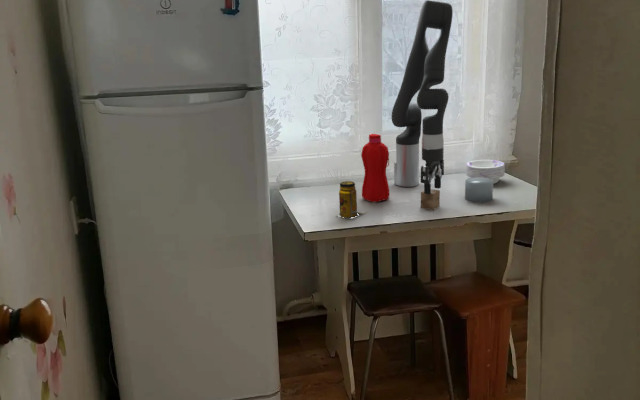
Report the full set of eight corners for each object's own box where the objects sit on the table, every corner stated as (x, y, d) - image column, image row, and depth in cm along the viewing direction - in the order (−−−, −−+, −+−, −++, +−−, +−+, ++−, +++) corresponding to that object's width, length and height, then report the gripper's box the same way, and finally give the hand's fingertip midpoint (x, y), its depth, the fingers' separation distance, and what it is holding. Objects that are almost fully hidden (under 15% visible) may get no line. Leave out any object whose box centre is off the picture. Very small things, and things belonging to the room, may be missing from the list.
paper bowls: (459, 179, 253) (459, 161, 251) (492, 176, 257) (493, 157, 254) (476, 188, 239) (477, 168, 237) (511, 184, 242) (512, 165, 240)
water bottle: (396, 198, 229) (396, 133, 222) (372, 204, 224) (371, 137, 217) (381, 193, 237) (381, 130, 230) (358, 198, 232) (357, 134, 224)
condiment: (334, 216, 211) (333, 183, 208) (349, 210, 218) (348, 178, 214) (351, 220, 207) (350, 186, 204) (365, 213, 213) (365, 181, 210)
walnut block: (420, 208, 217) (420, 191, 216) (426, 204, 221) (427, 188, 219) (433, 210, 214) (433, 193, 213) (439, 206, 218) (439, 190, 217)
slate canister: (460, 200, 224) (461, 182, 222) (471, 194, 232) (471, 176, 230) (486, 204, 219) (487, 185, 217) (496, 197, 226) (497, 179, 224)
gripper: (431, 142, 219) (431, 185, 223) (413, 149, 208) (414, 194, 212) (450, 143, 215) (450, 187, 219) (433, 150, 204) (433, 197, 208)
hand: (432, 191), depth 216 cm, fingers open, 8 cm apart
